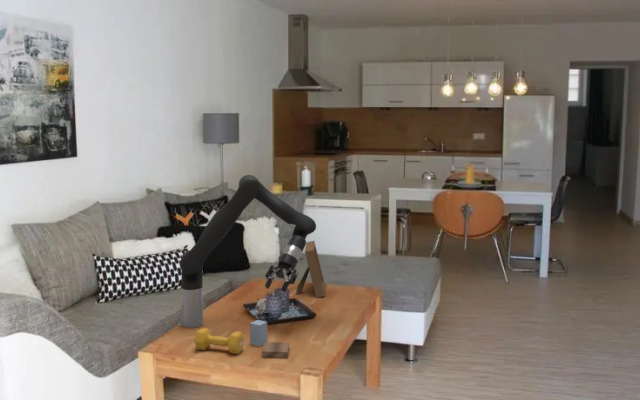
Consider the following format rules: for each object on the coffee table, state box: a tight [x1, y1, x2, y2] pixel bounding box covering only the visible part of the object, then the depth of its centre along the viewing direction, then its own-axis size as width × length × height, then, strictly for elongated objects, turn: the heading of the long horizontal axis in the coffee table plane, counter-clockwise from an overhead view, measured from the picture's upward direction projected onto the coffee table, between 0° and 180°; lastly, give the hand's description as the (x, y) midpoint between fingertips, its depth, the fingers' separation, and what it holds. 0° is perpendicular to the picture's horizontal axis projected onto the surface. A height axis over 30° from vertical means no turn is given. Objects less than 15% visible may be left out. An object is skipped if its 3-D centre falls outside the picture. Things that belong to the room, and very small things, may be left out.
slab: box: [261, 341, 290, 359], centre depth 265 cm, size 10×10×3 cm
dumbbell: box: [194, 327, 245, 355], centre depth 267 cm, size 19×9×8 cm, turn 75°
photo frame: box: [295, 240, 326, 299], centre depth 348 cm, size 15×22×25 cm
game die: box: [253, 297, 267, 315], centre depth 311 cm, size 9×8×10 cm
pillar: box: [249, 319, 268, 347], centre depth 274 cm, size 5×5×9 cm
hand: (274, 289), depth 283 cm, fingers open, 8 cm apart
